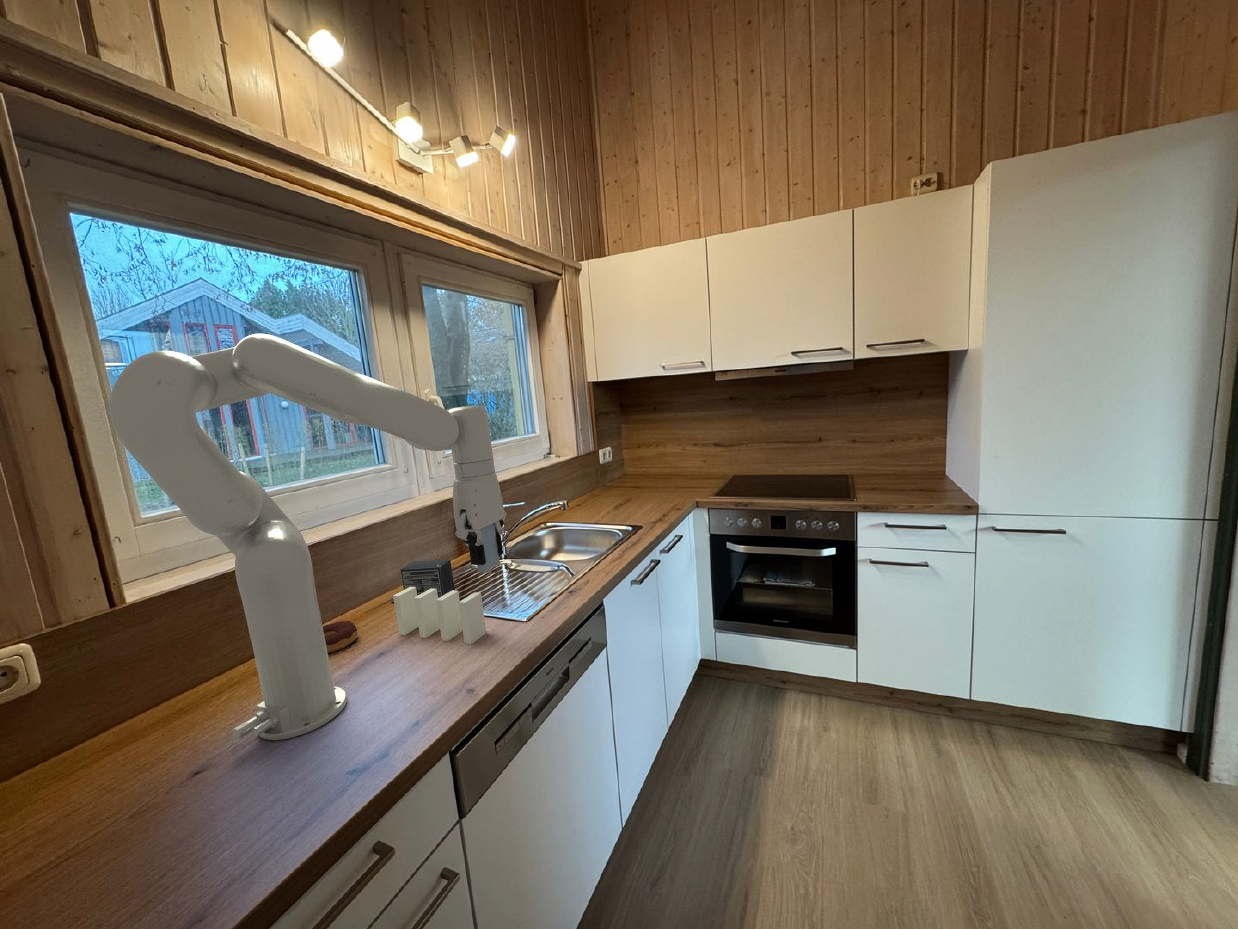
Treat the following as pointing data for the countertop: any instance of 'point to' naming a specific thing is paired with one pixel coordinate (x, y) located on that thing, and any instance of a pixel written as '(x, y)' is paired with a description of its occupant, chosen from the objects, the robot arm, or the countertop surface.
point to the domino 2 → (427, 612)
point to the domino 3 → (449, 615)
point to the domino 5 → (489, 548)
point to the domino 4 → (472, 618)
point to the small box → (429, 576)
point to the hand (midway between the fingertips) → (487, 558)
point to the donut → (339, 635)
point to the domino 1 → (406, 610)
